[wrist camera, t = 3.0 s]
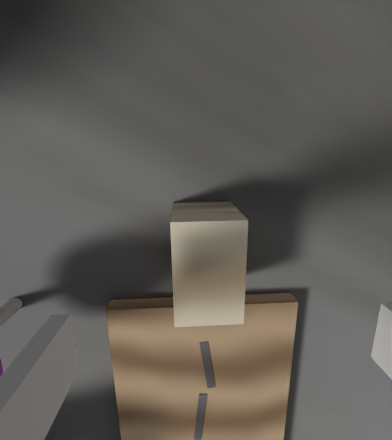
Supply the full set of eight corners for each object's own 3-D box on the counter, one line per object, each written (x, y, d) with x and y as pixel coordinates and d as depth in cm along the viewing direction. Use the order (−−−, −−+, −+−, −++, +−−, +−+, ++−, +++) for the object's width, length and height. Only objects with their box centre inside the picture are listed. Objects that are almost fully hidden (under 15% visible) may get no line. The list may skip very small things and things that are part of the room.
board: (110, 299, 22) (105, 311, 20) (291, 292, 23) (298, 302, 21) (132, 489, 28) (129, 508, 27) (272, 478, 29) (277, 496, 28)
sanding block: (173, 201, 20) (170, 222, 14) (229, 200, 20) (248, 220, 15) (176, 281, 22) (174, 327, 16) (227, 279, 22) (243, 324, 16)
